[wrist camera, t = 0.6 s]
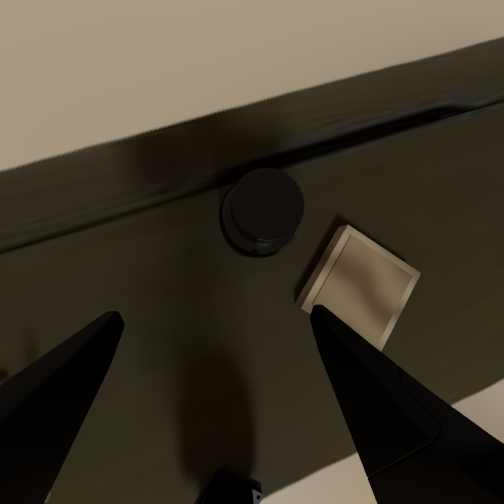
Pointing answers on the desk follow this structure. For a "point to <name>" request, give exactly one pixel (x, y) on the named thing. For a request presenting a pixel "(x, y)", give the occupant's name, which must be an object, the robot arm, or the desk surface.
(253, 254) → the supplement bottle
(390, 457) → the robot arm
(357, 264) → the base slab
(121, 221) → the desk surface
